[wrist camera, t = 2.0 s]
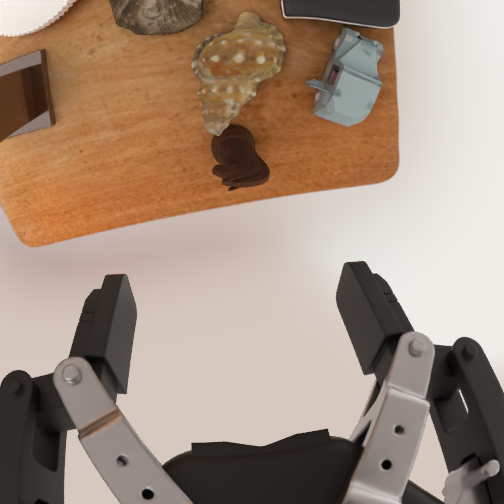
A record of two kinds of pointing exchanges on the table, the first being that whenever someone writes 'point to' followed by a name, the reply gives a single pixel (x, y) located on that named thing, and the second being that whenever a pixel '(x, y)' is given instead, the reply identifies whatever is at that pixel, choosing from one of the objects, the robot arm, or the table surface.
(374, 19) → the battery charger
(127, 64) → the table surface
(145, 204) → the table surface
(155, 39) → the table surface
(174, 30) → the fossilized seashell
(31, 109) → the green pedestal cup
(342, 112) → the toy car
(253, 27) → the seashell
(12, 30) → the plastic lid
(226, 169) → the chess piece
